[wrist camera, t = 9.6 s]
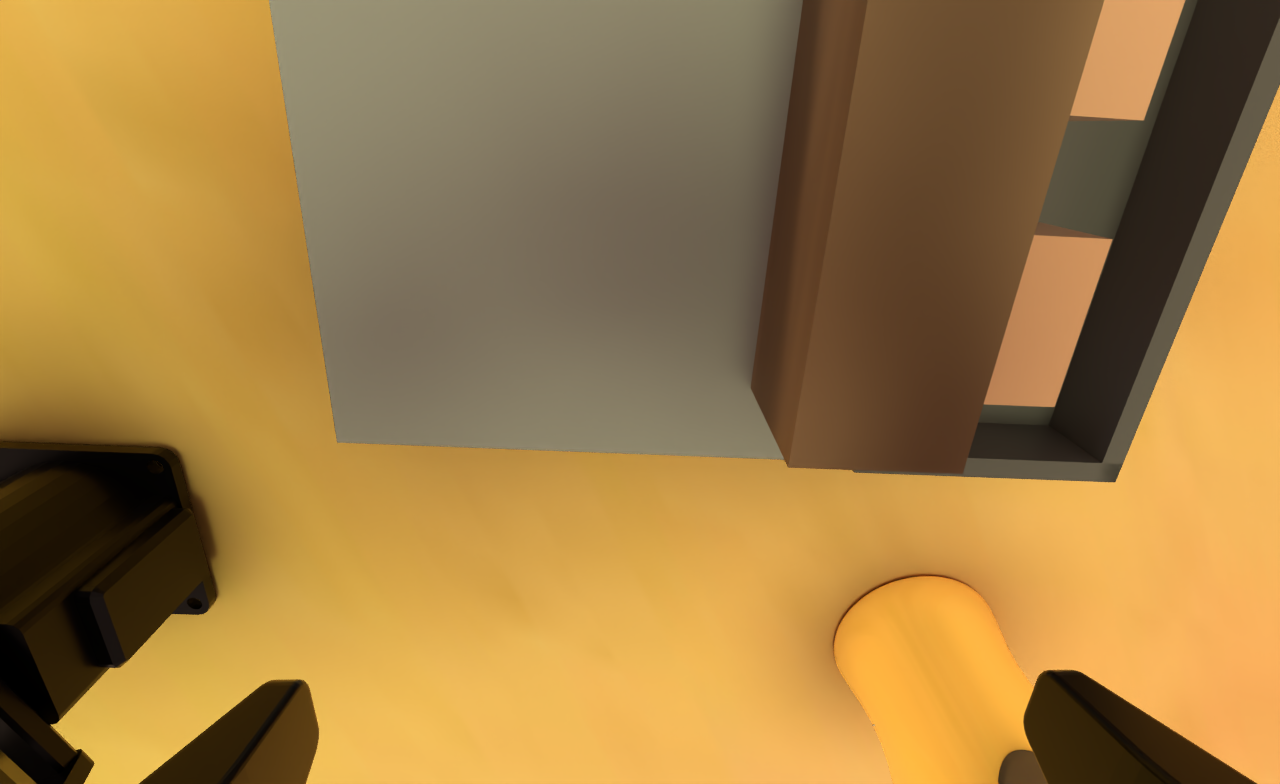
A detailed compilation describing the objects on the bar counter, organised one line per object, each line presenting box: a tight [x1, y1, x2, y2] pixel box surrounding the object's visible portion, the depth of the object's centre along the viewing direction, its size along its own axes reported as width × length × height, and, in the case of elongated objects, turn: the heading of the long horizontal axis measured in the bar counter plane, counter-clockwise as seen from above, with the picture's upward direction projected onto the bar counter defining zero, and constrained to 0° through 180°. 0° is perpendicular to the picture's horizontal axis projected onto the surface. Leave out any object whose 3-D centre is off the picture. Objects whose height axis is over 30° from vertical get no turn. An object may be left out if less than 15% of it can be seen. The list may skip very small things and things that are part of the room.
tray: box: [853, 0, 1280, 482], centre depth 16 cm, size 8×16×3 cm, turn 177°
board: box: [269, 0, 803, 460], centre depth 15 cm, size 14×15×4 cm
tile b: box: [1068, 0, 1185, 121], centre depth 14 cm, size 4×4×2 cm
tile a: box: [984, 222, 1113, 407], centre depth 16 cm, size 4×4×2 cm
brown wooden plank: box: [751, 0, 1104, 474], centre depth 12 cm, size 4×11×4 cm, turn 177°
